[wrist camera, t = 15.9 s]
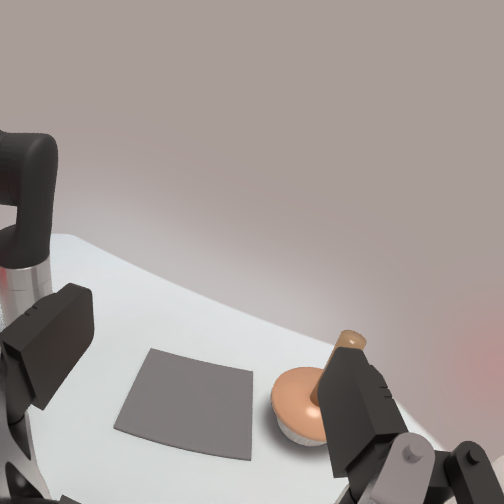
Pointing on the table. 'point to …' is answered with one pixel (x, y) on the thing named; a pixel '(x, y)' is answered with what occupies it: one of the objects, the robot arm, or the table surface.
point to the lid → (306, 393)
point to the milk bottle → (500, 466)
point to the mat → (190, 406)
